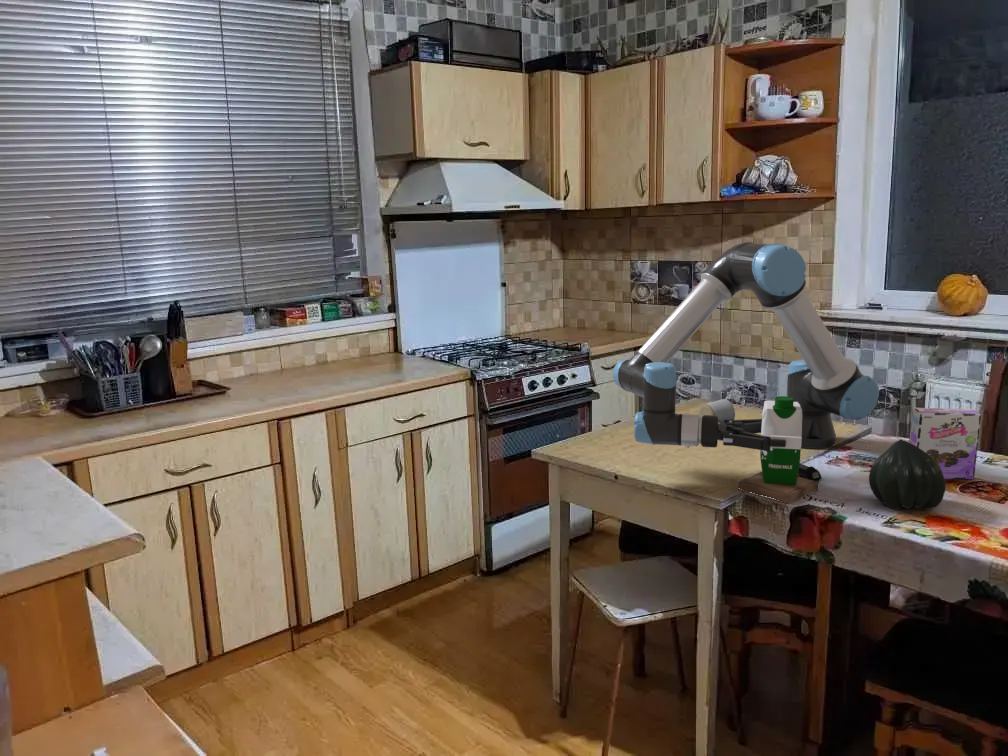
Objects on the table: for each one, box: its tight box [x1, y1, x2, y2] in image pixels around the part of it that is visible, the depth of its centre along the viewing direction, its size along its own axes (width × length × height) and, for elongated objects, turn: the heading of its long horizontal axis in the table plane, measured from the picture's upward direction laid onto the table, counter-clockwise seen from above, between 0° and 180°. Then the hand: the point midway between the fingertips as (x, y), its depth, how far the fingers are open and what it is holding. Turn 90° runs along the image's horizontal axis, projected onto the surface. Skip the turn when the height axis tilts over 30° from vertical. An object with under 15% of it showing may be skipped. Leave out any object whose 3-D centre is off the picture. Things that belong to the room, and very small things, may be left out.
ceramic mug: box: [698, 398, 736, 424], centre depth 246 cm, size 11×8×8 cm
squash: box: [868, 438, 946, 510], centre depth 183 cm, size 14×15×15 cm
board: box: [737, 471, 820, 505], centre depth 194 cm, size 13×13×2 cm
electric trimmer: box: [798, 463, 822, 482], centre depth 206 cm, size 4×16×3 cm, turn 24°
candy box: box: [908, 407, 982, 480], centre depth 200 cm, size 14×6×16 cm, turn 82°
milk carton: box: [759, 396, 802, 485], centre depth 192 cm, size 9×9×20 cm
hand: (799, 435), depth 190 cm, fingers open, 11 cm apart
